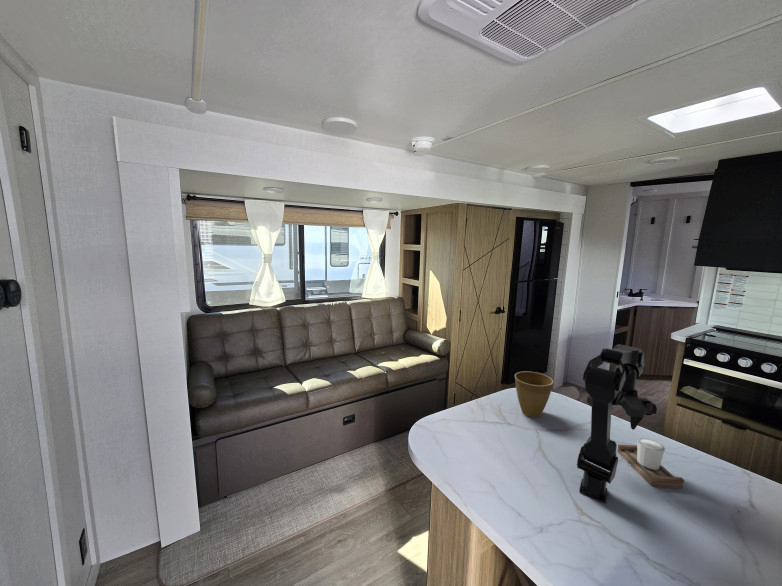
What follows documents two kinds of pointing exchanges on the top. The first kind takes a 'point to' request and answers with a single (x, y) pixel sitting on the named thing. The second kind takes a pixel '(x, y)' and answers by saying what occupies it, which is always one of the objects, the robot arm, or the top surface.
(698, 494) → the top surface
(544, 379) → the plant pot
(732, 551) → the top surface
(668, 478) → the rack
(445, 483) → the top surface
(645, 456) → the white tapered cylinder
